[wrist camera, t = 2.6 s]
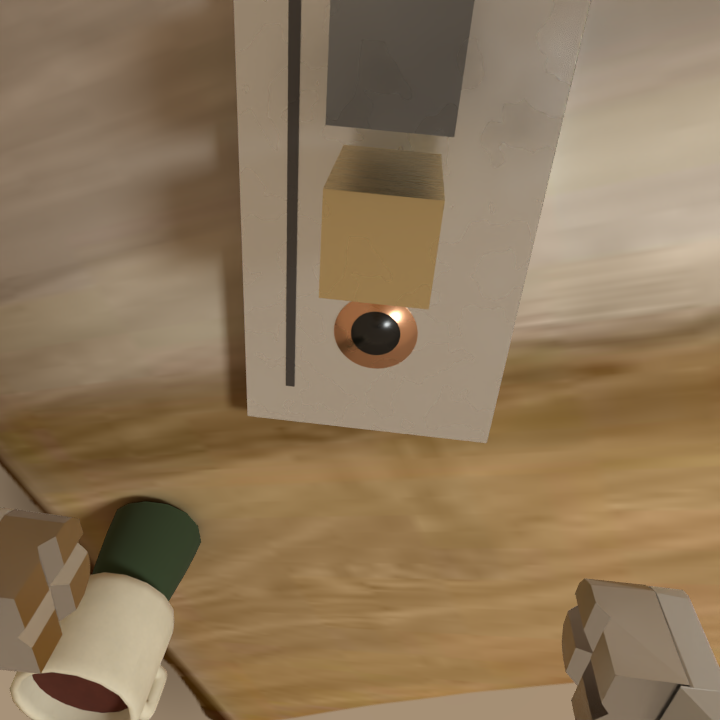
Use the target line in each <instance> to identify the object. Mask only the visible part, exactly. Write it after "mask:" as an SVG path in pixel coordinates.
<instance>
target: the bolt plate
mask: <svg viewBox="0 0 720 720" xmlns="http://www.w3.org/2000/svg"><path fill="white" fill-rule="evenodd" d="M233 1H234V30H235V60H236V89H237V118H238V148H239V177H240V207H241V236H242V265H243V295H244V324H245V354H246V383H247V412H248V416H254V417H263V418H272V419H280V420H289V421H298V422H307V423H316V424H324V425H333V426H342V427H351V428H359V429H368V430H377V431H386V432H395V433H403V434H412V435H421V436H430V437H439V438H447V439H456V440H465V441H474V442H482V443H487V439H488V435H489V431H490V427H491V422H492V418H493V414H494V410H495V406H496V401H497V397H498V393H499V389H500V384H501V380H502V376H503V372H504V367H505V363H506V359H507V355H508V350H509V346H510V342H511V338H512V333H513V329H514V325H515V321H516V316H517V312H518V308H519V304H520V299H521V295H522V291H523V287H524V282H525V278H526V274H527V270H528V266H529V261H530V257H531V253H532V249H533V244H534V240H535V236H536V232H537V227H538V223H539V219H540V215H541V210H542V206H543V202H544V198H545V193H546V189H547V185H548V181H549V176H550V172H551V168H552V164H553V159H554V155H555V151H556V147H557V142H558V138H559V134H560V130H561V126H562V121H563V117H564V113H565V109H566V104H567V100H568V96H569V92H570V87H571V83H572V79H573V75H574V70H575V66H576V62H577V58H578V53H579V49H580V45H581V41H582V36H583V32H584V28H585V24H586V19H587V15H588V11H589V7H590V2H591V0H233ZM343 145H353V146H364V147H374V148H384V149H395V150H405V151H416V152H426V153H436V154H441V155H442V169H443V182H444V195H445V204H444V210H443V217H442V224H441V231H440V237H439V244H438V251H437V258H436V265H435V271H434V278H433V285H432V292H431V298H430V305H429V310H428V309H419V308H409V307H400V306H391V305H381V304H372V303H362V302H353V301H343V300H334V299H324V298H319V277H320V251H321V225H322V200H323V188H324V185H325V183H326V181H327V179H328V177H329V175H330V173H331V171H332V168H333V166H334V164H335V162H336V160H337V158H338V156H339V154H340V151H341V149H342V147H343Z"/></svg>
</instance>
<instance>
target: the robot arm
mask: <svg viewBox="0 0 720 720" xmlns="http://www.w3.org/2000/svg"><path fill="white" fill-rule="evenodd" d="M82 535H83V530H82V527H81V524H80V520H79V519H76V518H71V517H64V516H58V515H51V514H44V513H37V512H30V511H24V510H17V509H9V508H1V507H0V670H8V671H18V672H28V673H38V674H41V673H42V671H43V669H44V667H45V665H46V664H47V662H48V660H49V658H50V656H51V655H52V653H53V651H54V649H55V647H56V646H57V644H58V642H59V640H60V638H61V637H62V629H61V624H60V621H61V620H62V619H64V618H65V617H67V616H68V615H69V614H71V613H72V612H74V611H75V610H76V609H77V607H78V606H79V604H80V602H81V600H82V598H83V596H84V594H85V591H86V587H87V584H88V580H89V577H90V559H89V555H88V552H87V551H86V550H85V549H84V548H83V547H82V546H81V545H80V544H79V543H78V541H79V540H80V538H81V536H82ZM575 595H576V599H577V603H578V606H576V607H574V608H572V609H571V610H569V611H568V613H567V616H566V619H565V621H564V624H563V634H562V652H563V660H564V665H565V671H566V673H567V674H568V675H569V676H570V678H571V679H572V680H573V681H574V682H575V684H576V685H577V689H576V691H575V693H574V695H573V698H572V700H571V701H572V706H573V711H574V715H575V720H720V668H719V666H718V663H717V661H716V659H715V656H714V654H713V652H712V649H711V647H710V645H709V642H708V640H707V638H706V635H705V633H704V631H703V628H702V626H701V624H700V621H699V619H698V617H697V614H696V612H695V610H694V607H693V605H692V603H691V600H690V598H689V596H688V595H687V594H686V593H685V592H684V591H683V590H678V589H669V588H661V587H653V586H646V585H641V584H631V583H622V582H613V581H603V580H594V579H583V580H582V581H581V582H580V583H579V585H578V588H577V590H576V592H575Z"/></svg>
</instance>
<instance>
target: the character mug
mask: <svg viewBox="0 0 720 720" xmlns="http://www.w3.org/2000/svg"><path fill="white" fill-rule="evenodd" d="M200 543H201V539H200V534H199V529H198V526H197V525H196V523H195V522H194V521H193V520H192V519H191V518H190V517H189V516H188V514H187V513H185V512H183V511H181V510H179V509H177V508H175V507H172V506H170V505H168V504H162V503H155V502H147V501H146V502H138V503H131V504H127V505H125V506H123V507H121V508H120V509H118V510H117V512H116V514H115V516H114V518H113V521H112V523H111V525H110V527H109V530H108V532H107V534H106V537H105V540H104V543H103V545H102V548H101V551H100V553H99V556H98V559H97V561H96V564H95V567H94V570H93V573H92V575H90V577H89V580H88V584H87V587H86V591H85V594H84V596H83V598H82V600H81V602H80V604H79V606H78V607H77V609H76V610H75V611H74V612H72V613H71V614H69V615H68V616H67V617H65V618H64V619H62V620H61V621H60V624H61V629H62V637H61V638H60V640H59V642H58V644H57V646H56V647H55V649H54V651H53V653H52V655H51V656H50V658H49V660H48V662H47V664H46V665H45V667H44V669H43V671H42V673H41V674H38V673H28V672H18V671H17V673H16V675H15V678H14V680H13V682H12V685H11V687H10V692H11V696H12V699H13V702H14V703H15V704H16V705H17V707H18V708H19V709H20V710H21V711H22V712H23V713H24V714H25V715H26V716H28V717H29V718H31V719H32V720H138V719H141V720H149V719H150V718H151V717H152V715H153V714H154V712H155V710H156V707H157V705H158V702H159V699H160V697H161V694H162V691H163V688H164V686H165V683H166V679H167V672H166V670H165V668H164V667H163V666H162V665H161V662H162V659H163V656H164V654H165V651H166V649H167V646H168V643H169V641H170V638H171V636H172V633H173V628H174V609H173V608H172V606H171V605H170V603H169V600H170V598H171V597H172V595H173V593H174V591H175V590H176V588H177V586H178V585H179V583H180V581H181V580H182V578H183V576H184V575H185V573H186V571H187V569H188V567H189V565H190V564H191V562H192V560H193V558H194V556H195V554H196V552H197V549H198V547H199V545H200Z"/></svg>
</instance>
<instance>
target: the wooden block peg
mask: <svg viewBox="0 0 720 720" xmlns="http://www.w3.org/2000/svg"><path fill="white" fill-rule="evenodd" d="M444 204H445V195H444V182H443V169H442V155H441V154H436V153H426V152H416V151H405V150H395V149H384V148H374V147H364V146H353V145H343V147H342V149H341V151H340V154H339V156H338V158H337V160H336V162H335V164H334V166H333V168H332V171H331V173H330V175H329V177H328V179H327V181H326V183H325V185H324V188H323V200H322V225H321V251H320V277H319V298H324V299H334V300H343V301H353V302H362V303H372V304H381V305H391V306H400V307H409V308H419V309H428V310H429V305H430V298H431V292H432V285H433V278H434V271H435V265H436V258H437V251H438V244H439V237H440V231H441V224H442V217H443V210H444Z"/></svg>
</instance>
